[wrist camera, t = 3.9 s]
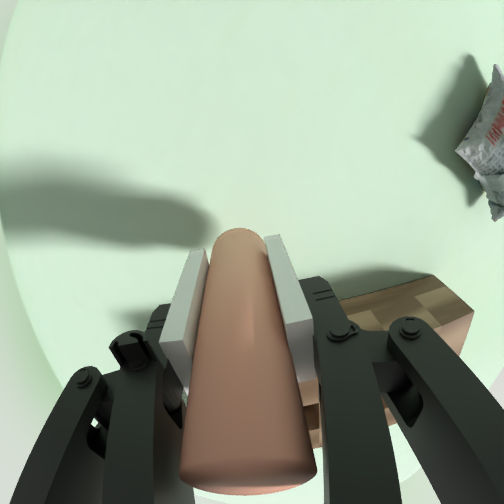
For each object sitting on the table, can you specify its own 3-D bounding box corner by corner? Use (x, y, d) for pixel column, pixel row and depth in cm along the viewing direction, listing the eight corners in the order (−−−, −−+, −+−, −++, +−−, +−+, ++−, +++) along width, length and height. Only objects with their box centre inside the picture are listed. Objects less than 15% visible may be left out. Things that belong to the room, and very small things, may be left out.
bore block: (201, 327, 21) (193, 385, 15) (433, 274, 20) (474, 311, 15) (235, 412, 25) (237, 460, 20) (413, 367, 25) (436, 405, 19)
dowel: (206, 234, 15) (155, 458, 4) (261, 223, 15) (317, 446, 4) (219, 281, 16) (204, 496, 5) (270, 272, 16) (316, 485, 5)
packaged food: (435, 148, 16) (480, 157, 12) (481, 64, 13) (519, 61, 8) (478, 215, 19) (515, 234, 14) (519, 132, 15) (552, 139, 11)
